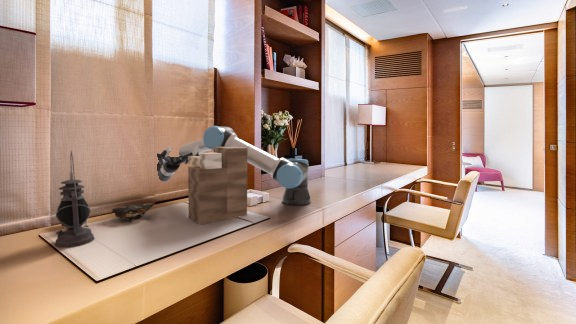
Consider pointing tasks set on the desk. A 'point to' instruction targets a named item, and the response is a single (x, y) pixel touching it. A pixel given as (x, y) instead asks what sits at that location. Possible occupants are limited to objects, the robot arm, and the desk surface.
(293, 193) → the robot arm
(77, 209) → the lantern
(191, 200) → the stand
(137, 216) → the fossil rock
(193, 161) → the pale wooden block
